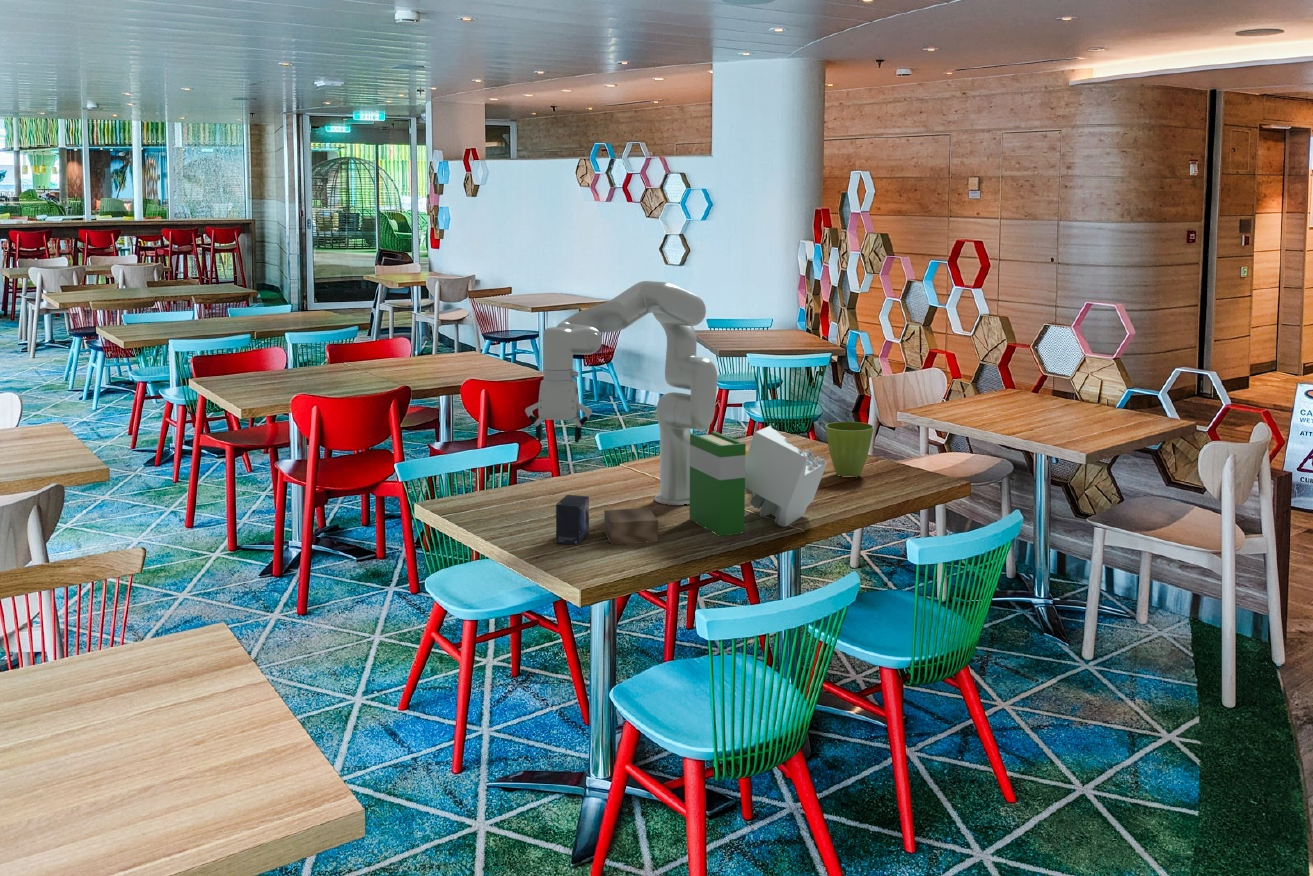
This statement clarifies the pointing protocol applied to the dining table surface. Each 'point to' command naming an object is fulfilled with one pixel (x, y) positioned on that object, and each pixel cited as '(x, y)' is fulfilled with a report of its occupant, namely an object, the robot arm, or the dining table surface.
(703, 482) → the hardback book
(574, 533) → the small box
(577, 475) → the dining table surface
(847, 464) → the flower pot
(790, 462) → the white toy brick
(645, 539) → the walnut block
